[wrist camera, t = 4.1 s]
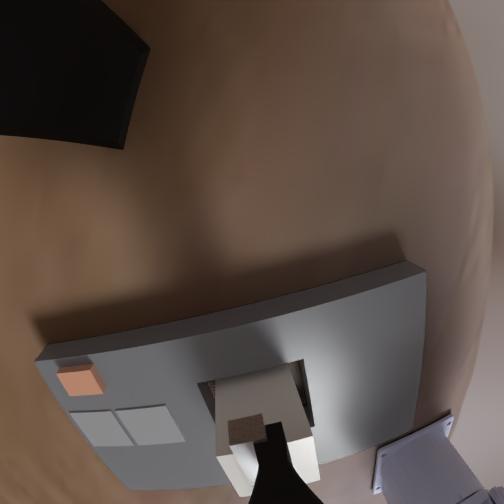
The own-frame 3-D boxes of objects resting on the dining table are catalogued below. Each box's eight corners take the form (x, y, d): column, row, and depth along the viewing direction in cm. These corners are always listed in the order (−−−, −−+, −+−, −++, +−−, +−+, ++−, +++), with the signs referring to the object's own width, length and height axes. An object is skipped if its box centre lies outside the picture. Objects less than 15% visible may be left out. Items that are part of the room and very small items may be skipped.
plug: (294, 400, 18) (320, 479, 12) (232, 414, 18) (240, 497, 12) (284, 352, 17) (313, 435, 11) (215, 368, 17) (216, 456, 10)
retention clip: (296, 470, 17) (314, 536, 11) (268, 477, 17) (280, 544, 11) (258, 343, 14) (278, 435, 8) (215, 353, 14) (216, 448, 8)
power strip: (401, 413, 20) (415, 434, 17) (132, 471, 19) (127, 495, 16) (406, 260, 16) (432, 274, 14) (47, 344, 15) (29, 367, 13)
